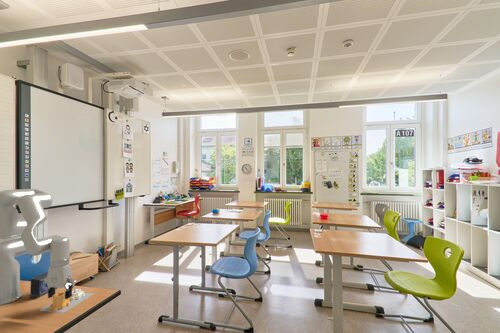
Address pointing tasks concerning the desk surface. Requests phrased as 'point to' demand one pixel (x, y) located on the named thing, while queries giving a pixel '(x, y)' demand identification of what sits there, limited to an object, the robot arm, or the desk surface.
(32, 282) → the small box
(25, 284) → the desk surface
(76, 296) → the cream gear
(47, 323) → the desk surface
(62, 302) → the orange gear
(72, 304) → the gear board
